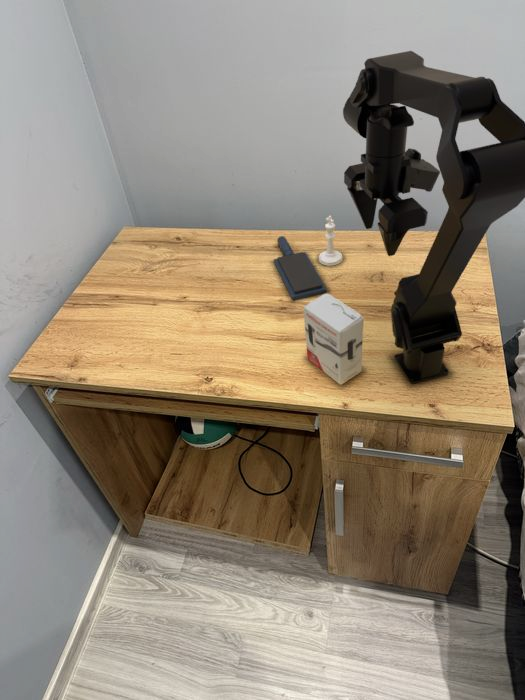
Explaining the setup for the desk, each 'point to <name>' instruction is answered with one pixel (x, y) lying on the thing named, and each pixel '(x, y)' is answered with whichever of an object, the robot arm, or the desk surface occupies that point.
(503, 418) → the desk surface
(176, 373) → the desk surface
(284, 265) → the scrub brush
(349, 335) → the ink box
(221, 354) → the desk surface
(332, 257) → the chess piece
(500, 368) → the desk surface
